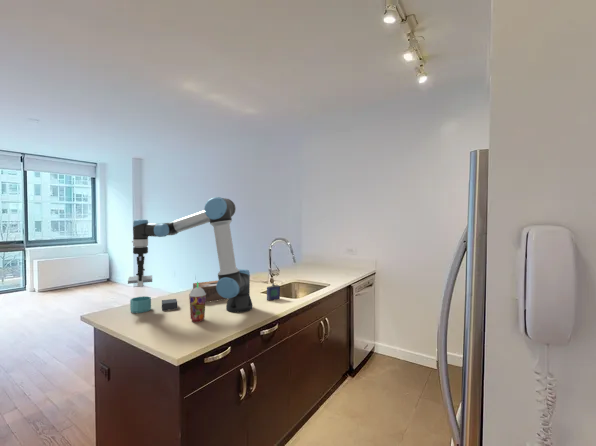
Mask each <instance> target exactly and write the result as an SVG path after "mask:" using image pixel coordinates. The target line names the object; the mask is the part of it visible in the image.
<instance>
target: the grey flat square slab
mask: <svg viewBox="0 0 596 446" xmlns="http://www.w3.org/2000/svg"><path fill="white" fill-rule="evenodd" d="M152 282H153V275H144V276H143V284H144V283H152ZM127 284H138V275H135V276H129V277H128V280H127Z"/></svg>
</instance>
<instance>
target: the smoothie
mask: <svg viewBox="0 0 596 446" xmlns="http://www.w3.org/2000/svg"><path fill="white" fill-rule="evenodd" d="M196 283H197V287H196V288H194V289H193V288H192V289H191V290H190V293H189V299H188V300H189V313H190V315H189V316H190V320H191V322H193V323H201V322H202V321H204V318H205V314H206V313H205V312H206V303H207V302H206V293H205V291H204V289H202V288H200V287H198V283H199V281H196Z"/></svg>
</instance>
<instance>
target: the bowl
mask: <svg viewBox="0 0 596 446" xmlns="http://www.w3.org/2000/svg"><path fill="white" fill-rule="evenodd" d="M129 302H130V303H129V304H130V305H129V306H130V313H132V314H140V313H141V314H143V313H146V312H150V311H151V310H152V297H151V296H137V297H133V298H130V300H129Z"/></svg>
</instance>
